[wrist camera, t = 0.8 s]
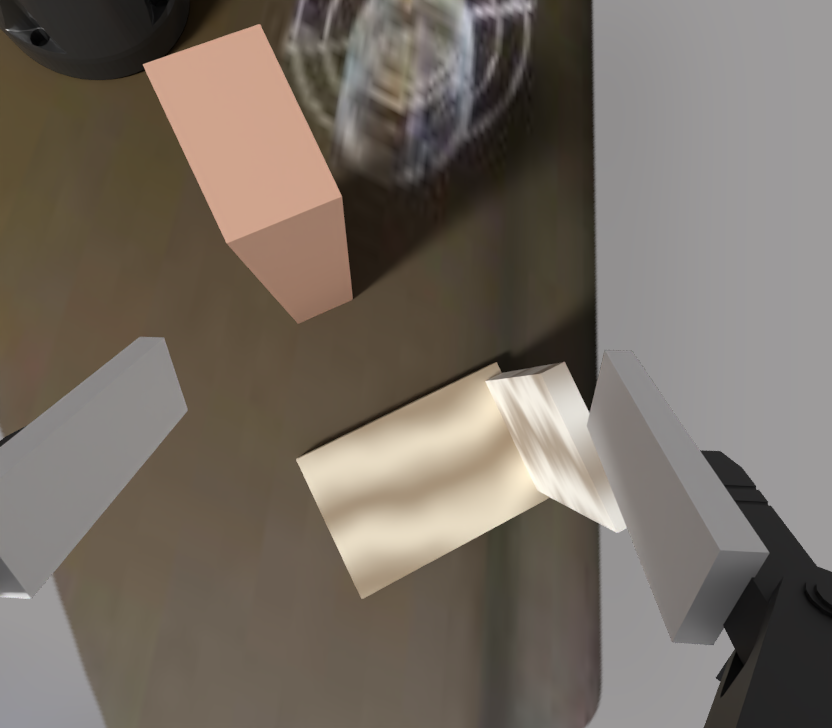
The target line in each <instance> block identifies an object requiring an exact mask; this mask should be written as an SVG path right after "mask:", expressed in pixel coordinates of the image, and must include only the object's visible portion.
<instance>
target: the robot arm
mask: <svg viewBox="0 0 832 728" xmlns="http://www.w3.org/2000/svg"><path fill="white" fill-rule="evenodd" d="M189 7H190V0H0V28H1V29H2V30H3V31H4V32H5V34H6V35H7V36H8V37H9V38H10V39H11V40H12V41H13V42H14V43H15V44H16V45H17V46H18V47H19V48H20V49H21V50H22V51H23V52H24V53H26V54H27V55H28V56H29V57H31V58H32V59H33V60H35V61H36V62H38V63H39V64H41V65H43V66H45V67H46V68H48V69H51V70H53V71H55V72H58V73H60V74H64V75H67V76H71V77H75V78H80V79H89V80H106V79H115V78H120V77H125V76H128V75H131V74H134V73H137V72H139V71H141V70H144V66H143V64H145V63H148V62H151V61H154V60H156V59H159V58H162V57H163V56H164V55H165V54H166V53H168V51H169V50H170V49H171V48H172V47H173V46H174V44H175V43H176V42H177V40H178V39H179V37H180V35H181V33H182V31H183V29H184V27H185V24H186V21H187V18H188V14H189ZM187 411H188V409H187V406H186V403H185V400H184V397H183V394H182V391H181V388H180V385H179V382H178V379H177V376H176V373H175V370H174V367H173V364H172V361H171V358H170V355H169V352H168V349H167V346H166V343H165V340H164V338H160V337H139V338H138V339H137V340H135V341H134V342H133V343H131V344H130V345H129V346H128V347H126V348H125V349H124V350H123V351H121V352H120V353H119V354H118V355H116V356H115V357H114V358H112V359H111V360H110V361H109V362H107V363H106V364H105V365H104V366H102V367H101V368H100V369H99V370H97V371H96V372H95V373H93V374H92V375H91V376H90V377H88V378H87V379H86V380H85V381H83V382H82V383H81V384H80V385H78V386H77V387H76V388H74V389H73V390H72V391H71V392H69V393H68V394H67V395H66V396H64V397H63V398H62V399H61V400H59V401H58V402H57V403H55V404H54V405H53V406H52V407H50V408H49V409H48V410H47V411H45V412H44V413H43V414H42V415H40V416H39V417H38V418H36V419H35V420H34V421H33V422H31V423H30V424H29V425H27V426H25V427H23V428H21V429H20V430H18V431H16V432H14V433H12V434H10V435H8V436H6V437H5V438H3V439H2V440H1V441H0V597H12V598H26V599H32V598H33V596H34V595H35V594H36V593H37V592H38V590H39V589H40V588H41V587H42V586H43V584H44V583H45V582H46V581H47V580H48V579H49V577H50V576H51V575H52V574H53V573H54V571H55V570H56V569H57V568H58V566H59V565H60V564H61V563H62V562H63V560H64V559H65V558H66V557H67V556H68V554H69V553H70V552H71V551H72V550H73V548H74V547H75V546H76V545H77V544H78V542H79V541H80V540H81V539H82V537H83V536H84V535H85V534H86V533H87V531H88V530H89V529H90V528H91V527H92V525H93V524H94V523H95V522H96V521H97V519H98V518H99V517H100V516H101V515H102V513H103V512H104V511H105V510H106V509H107V507H108V506H109V505H110V504H111V502H112V501H113V500H114V499H115V498H116V496H117V495H118V494H119V493H120V492H121V490H122V489H123V488H124V487H125V486H126V484H127V483H128V482H129V481H130V480H131V478H132V477H133V476H134V475H135V473H136V472H137V471H138V470H139V469H140V467H141V466H142V465H143V464H144V463H145V461H146V460H147V459H148V458H149V457H150V455H151V454H152V453H153V452H154V451H155V449H156V448H157V447H158V446H159V445H160V443H161V442H162V441H163V440H164V438H165V437H166V436H167V435H168V434H169V432H170V431H171V430H172V429H173V428H174V426H175V425H176V424H177V423H178V422H179V420H180V419H181V418H182V417H183V416H184V414H185V413H186V412H187ZM587 428H588V430H589V433H590V436H591V438H592V441H593V443H594V446H595V448H596V451H597V453H598V456H599V458H600V461H601V463H602V466H603V468H604V471H605V474H606V476H607V479H608V481H609V484H610V486H611V489H612V491H613V494H614V496H615V499H616V501H617V504H618V506H619V509H620V512H621V514H622V517H623V519H624V522H625V524H626V527H627V529H628V532H629V534H630V537H631V539H632V542H633V544H634V547H635V550H636V552H637V555H638V557H639V560H640V562H641V565H642V567H643V570H644V572H645V575H646V577H647V580H648V582H649V585H650V588H651V590H652V592H653V595H654V598H655V600H656V603H657V605H658V607H659V610H660V613H661V615H662V618H663V621H664V623H665V626H666V628H667V631H668V633H669V636H670V638H671V641H672V642H675V643H691V644H704V645H714V643H715V641H716V640H717V638H718V637H719V635H720V633H721V632H722V630H723V628H725V630H726V632H727V634H728V636H729V638H730V640H731V642H732V644H733V646H734V648H735V650H734V651H733V653H732V654H731V656H730V657H729V659H728V660H727V662H726V663H725V665H724V666H723V668H722V669H721V671H720V673H719V674H718V675H717V677H716V679H718V680H719V681H721V682H720V685H719V688H718V690H717V693H716V696H715V699H714V701H713V704H712V707H711V709H710V712H709V715H708V718H707V720H706V723H705V726H704V728H832V572H830V571H828V570H825V569H823V568H820V567H817V566H816V564H815V563H814V562H813V560H812V559H811V558H810V557H809V555H808V554H807V553H806V551H805V550H804V549H803V547H802V546H801V545H800V543H799V542H798V541H797V539H796V538H795V537H794V535H793V534H792V533H791V532H790V530H789V529H788V528H787V526H786V525H785V524H784V522H783V521H782V520H781V518H780V517H779V516H778V515H777V513H776V512H775V511H774V509H773V508H772V507H771V506H768V501H767V500H766V499H765V497H764V496H763V495H762V494H761V492H760V491H759V490H756V486H755V485H754V483H753V482H752V480H751V479H750V478H749V476H748V475H747V474H746V473H745V471H744V470H743V469H742V467H740V466H739V465H738V464H736V463H735V462H734V461H732V460H731V459H730V458H728V457H727V456H726V455H724V454H723V453H722V452H720V451H701V450H699V448H698V447H697V445H696V444H695V442H694V441H693V440H692V438H691V437H690V435H689V434H688V433H687V431H686V429H685V428H684V426H683V425H682V424H681V422H680V421H679V419H678V418H677V416H676V415H675V413H674V412H673V410H672V409H671V407H670V406H669V404H668V403H667V401H666V400H665V399H664V397H663V396H662V394H661V393H660V391H659V390H658V388H657V387H656V385H655V384H654V382H653V381H652V379H651V378H650V376H649V375H648V374H647V372H646V371H645V369H644V368H643V366H642V365H641V363H640V362H639V360H638V359H637V357H636V356H635V354H634V353H633V352H632V351H619V350H605V351H604V355H603V359H602V363H601V367H600V372H599V376H598V380H597V384H596V389H595V393H594V397H593V401H592V405H591V410H590V414H589V418H588V422H587Z"/></svg>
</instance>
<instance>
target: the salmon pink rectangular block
mask: <svg viewBox="0 0 832 728" xmlns="http://www.w3.org/2000/svg"><path fill="white" fill-rule="evenodd" d="M143 66H144V69H145V71H146V73H147V75H148V77H149V79H150V81H151V83H152V86H153V88H154V90H155V92H156V94H157V96H158V98H159V100H160V103H161V105H162V107H163V109H164V111H165V113H166V115H167V117H168V120H169V122H170V124H171V126H172V128H173V130H174V132H175V134H176V137H177V139H178V141H179V143H180V145H181V147H182V149H183V151H184V154H185V156H186V158H187V160H188V162H189V164H190V166H191V168H192V171H193V173H194V175H195V177H196V179H197V181H198V183H199V185H200V188H201V190H202V192H203V194H204V196H205V198H206V200H207V202H208V205H209V207H210V209H211V211H212V213H213V215H214V217H215V219H216V222H217V224H218V226H219V228H220V230H221V232H222V234H223V236H224V239H225V241H226V243H227V244H228V245H229V246H230V248H231V249H232V250H233V251H234V252H235V253H236V254H237V255H238V257H239V258H240V259H241V260H242V261H243V262H244V263H245V264H246V266H247V267H248V268H249V269H250V270H251V271H252V272H253V274H254V275H255V276H256V277H257V278H258V279H259V280H260V281H261V283H262V284H263V285H264V286H265V287H266V288H267V289H268V290H269V292H270V293H271V294H272V295H273V296H274V297H275V298H276V299H277V301H278V302H279V303H280V304H281V305H282V306H283V307H284V308H285V310H286V311H287V312H288V313H289V314H290V315H291V316H292V317H293V319H294V320H295V321H296V322H297V323H298V324H299V323H301V322H303V321H305V320H308V319H310V318H312V317H315V316H317V315H319V314H321V313H324V312H326V311H328V310H330V309H333V308H335V307H337V306H339V305H342V304H344V303H346V302H348V301H351V300H353V295H352V286H351V276H350V267H349V258H348V248H347V239H346V229H345V220H344V211H343V201H342V195H341V193H340V191H339V189H338V187H337V185H336V183H335V181H334V179H333V177H332V174H331V172H330V170H329V168H328V166H327V164H326V162H325V160H324V158H323V156H322V153H321V151H320V149H319V147H318V145H317V143H316V141H315V139H314V137H313V134H312V132H311V130H310V128H309V126H308V124H307V122H306V120H305V118H304V116H303V113H302V111H301V109H300V107H299V105H298V103H297V101H296V99H295V97H294V95H293V92H292V90H291V88H290V86H289V84H288V82H287V80H286V78H285V76H284V74H283V71H282V69H281V67H280V65H279V63H278V61H277V59H276V57H275V55H274V53H273V50H272V48H271V46H270V44H269V42H268V40H267V38H266V36H265V34H264V32H263V29H262V27H261V25H260V24H258V25H255V26H252V27H250V28H247V29H244V30H241V31H238V32H235V33H232V34H229V35H226V36H223V37H220V38H218V39H215V40H212V41H209V42H206V43H203V44H200V45H197V46H194V47H191V48H188V49H186V50H183V51H180V52H177V53H174V54H171V55H168V56H165V57H162V58H159V59H156V60H154V61H151V62H148V63H145V64H143Z"/></svg>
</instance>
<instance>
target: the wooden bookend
mask: <svg viewBox="0 0 832 728" xmlns="http://www.w3.org/2000/svg"><path fill="white" fill-rule="evenodd" d="M589 414H590V413H589V411H588V409H587V407H586V405H585V403H584V401H583V399H582V397H581V395H580V393H579V391H578V388H577V386H576V384H575V382H574V380H573V378H572V376H571V374H570V372H569V370H568V368H567V366H566V364H565V362H561V363H555V364H550V365H544V366H538V367H533V368H527V369H521V370H516V371H510V372H504V373H502V372H501V370H500V368H499V366H498V364H497V362H495V363H492V364H490V365H488V366H485V367H483V368H481V369H479V370H477V371H475V372H473V373H471V374H469V375H467V376H465V377H463V378H461V379H459V380H457V381H455V382H452V383H450V384H448V385H446V386H444V387H442V388H440V389H438V390H436V391H434V392H432V393H430V394H428V395H426V396H424V397H422V398H419V399H417V400H415V401H413V402H411V403H409V404H407V405H405V406H403V407H401V408H399V409H397V410H395V411H393V412H391V413H389V414H387V415H384V416H382V417H380V418H378V419H376V420H374V421H372V422H370V423H368V424H366V425H364V426H362V427H360V428H358V429H356V430H354V431H351V432H349V433H347V434H345V435H343V436H341V437H339V438H337V439H335V440H333V441H331V442H329V443H327V444H325V445H323V446H321V447H318V448H316V449H314V450H312V451H310V452H308V453H306V454H304V455H302V456H300V457H298V458H297V459H296V460H297V462H298V465H299V467H300V469H301V471H302V473H303V475H304V477H305V479H306V482H307V484H308V486H309V488H310V490H311V492H312V494H313V496H314V499H315V501H316V503H317V505H318V507H319V509H320V511H321V514H322V516H323V518H324V520H325V522H326V524H327V526H328V528H329V531H330V533H331V535H332V537H333V539H334V541H335V543H336V546H337V548H338V550H339V552H340V554H341V556H342V558H343V560H344V563H345V565H346V567H347V569H348V571H349V573H350V575H351V577H352V580H353V582H354V584H355V586H356V588H357V590H358V592H359V595H360V597H361V599H363V598H365V597H367V596H369V595H371V594H372V593H374V592H376V591H378V590H380V589H382V588H383V587H385V586H387V585H389V584H391V583H393V582H395V581H396V580H398V579H400V578H402V577H404V576H406V575H407V574H409V573H411V572H413V571H415V570H417V569H419V568H420V567H422V566H424V565H426V564H428V563H430V562H432V561H433V560H435V559H437V558H439V557H441V556H443V555H444V554H446V553H448V552H450V551H452V550H454V549H456V548H457V547H459V546H461V545H463V544H465V543H467V542H469V541H470V540H472V539H474V538H476V537H478V536H480V535H481V534H483V533H485V532H487V531H489V530H491V529H493V528H494V527H496V526H498V525H500V524H502V523H504V522H505V521H507V520H509V519H511V518H513V517H515V516H517V515H518V514H520V513H522V512H524V511H526V510H528V509H530V508H531V507H533V506H535V505H537V504H539V503H541V502H542V501H544V500H546V499H548V498H550V497H551V498H552V499H554V500H556V501H558V502H560V503H562V504H564V505H566V506H567V507H569V508H571V509H573V510H575V511H577V512H579V513H581V514H582V515H584V516H586V517H588V518H590V519H592V520H594V521H596V522H597V523H599V524H601V525H603V526H605V527H607V528H609V529H611V530H612V531H614V532H616V533H619V532H620V531H622V530H624V529H626V528H627V527H626V524H625V522H624V519H623V517H622V514H621V512H620V509H619V506H618V504H617V501H616V499H615V496H614V494H613V491H612V489H611V486H610V484H609V481H608V479H607V476H606V474H605V471H604V468H603V466H602V463H601V461H600V458H599V456H598V453H597V451H596V448H595V446H594V443H593V441H592V438H591V436H590V433H589V430H588V428H587V422H588V418H589Z"/></svg>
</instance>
